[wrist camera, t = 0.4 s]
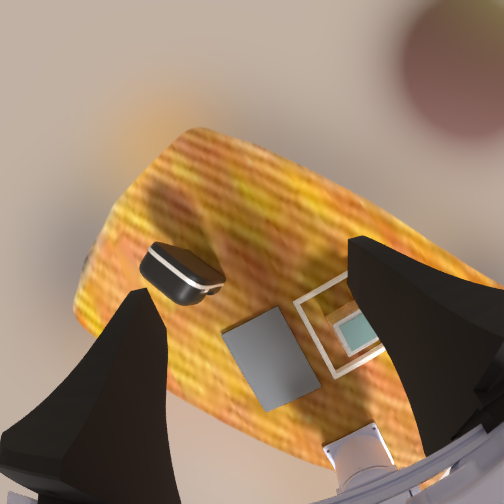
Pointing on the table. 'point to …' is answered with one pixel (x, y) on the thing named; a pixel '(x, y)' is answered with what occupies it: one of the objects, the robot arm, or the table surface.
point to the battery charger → (180, 274)
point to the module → (351, 328)
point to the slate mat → (271, 359)
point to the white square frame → (335, 373)
